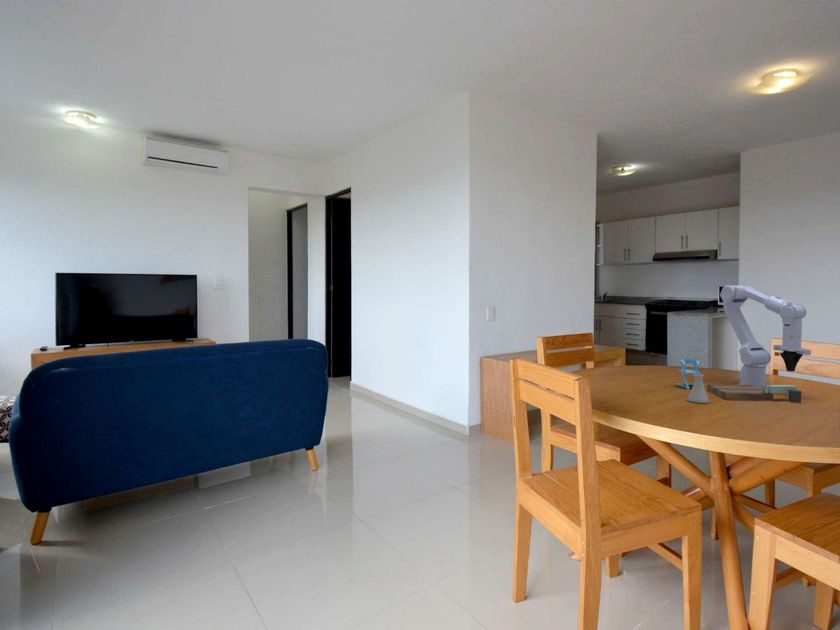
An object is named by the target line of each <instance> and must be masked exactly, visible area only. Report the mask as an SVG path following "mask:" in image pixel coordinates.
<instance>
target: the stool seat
mask: <svg viewBox="0 0 840 630" xmlns="http://www.w3.org/2000/svg"><path fill="white" fill-rule="evenodd" d="M707 391H708V392H709V393H712V394H714V395H715V396H718V397H720V398H722V399H723V400H726V401H755V402H757V401H758V402H759V401H762V402H768V401H769V402H773V401H774V400H775V399H774V394H775V393H764V392H761V389H759V388H757V387H754V386H752V385H738V384H717V383H716V384H714V383H713V384H708V383H707Z"/></svg>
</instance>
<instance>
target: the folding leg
mask: <svg viewBox="0 0 840 630" xmlns="http://www.w3.org/2000/svg"><path fill="white" fill-rule="evenodd" d="M789 390H798V386H797V385H793V384H765V385H761V392H764V393H772V394H789Z"/></svg>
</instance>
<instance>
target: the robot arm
mask: <svg viewBox="0 0 840 630" xmlns="http://www.w3.org/2000/svg"><path fill="white" fill-rule="evenodd" d="M719 296H720V298H721V300H722V303H723V305H722V306H723V311H724V313H725V315H726V317H727V319H728V321H729V323H730V325H731V327H732V329H733V331H734V333H735V335H736V337H737V338H738V341H739V343H740V348H739V350H738V353H739V356H740V357H739V358H740V361H741V363H742V364H743V366H742V367H741V368H740V373H739V374H740V375H739V376H740V380H739V382H738V383H737V385H752V386H754V387H757V388H759V389H761V385H766V375H767V374H766V373H767V367H768V364H769V363H770V362H771V359H772V356H771V353H770V352H769V351H768V350H767V349H766V348H765V347H764V345H763V344H761V343H759V342H758V341H757V340H756V338H755V336H754V333H753V331H752V330H751V328H750V326H749V324H748V322H747V320H746V318H745V315H744V314H743V312H742V310H741V307H742V306H743V305H744V304H745V302H747V300H748V299H750V300H753V301H755V302H758V303H760V304H762V305H764V308H765V309H767V310H769V311H770V312H773V313H775V314H777V315H779V317H780V318H781V322H782V342H781V343H782V344H773V346H772V347H773V349H772V350H773V351H780V352H779V354H780V357H781V359H783V362H784V365H785V369H786V372H795V370H796V367H797V364H798V363H799V361H800V359H801V358H802V357H803V355H804V356H811V355H812V349H808V348H804V347H802V335H803V334H802V331H803V319H804V318H805V317H806V316H807V309H806V308H805V306H803V305H802V304H800V303H795V304H794V303H793V302H792V301H791V300H786V299H782V298H781V297H782V296H780V295H772V296H768V295H766V294H764V293H763V292H761V291H758V290H757V289H755V288H753V287H752V286H749V285H746V284H739V285H738V284H737V285H735V284H734V285H733V284H732V285H731V284H726V285H724V286H723V287H722V290H721V291H720V294H719Z"/></svg>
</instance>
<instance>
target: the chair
mask: <svg viewBox="0 0 840 630" xmlns="http://www.w3.org/2000/svg"><path fill="white" fill-rule="evenodd" d="M679 363H680V366H681V367H680V368H679V369H678V370H679V372H680V374H681V376H682V378H683V382H684V383H683V382H677V383H676V386H678V385H680V386H682V387H681V388H683V387H685V388H687V389H686V390H690V386H689V385H694V383H689V382H688V381H687V378H686V376H685V375H694V374H701V372H700V371H699V368H700V361H699V360H696V359H695V358H694V359H693V358H683V359H681V360H680V361H679ZM686 364H692V365H693V366H692V368H693V369H687V367H686ZM685 385H686V386H685ZM680 386H679V387H680ZM685 388H684V389H685Z"/></svg>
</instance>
